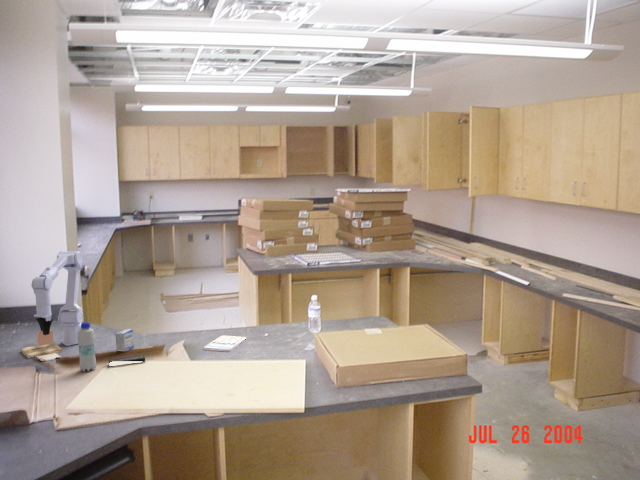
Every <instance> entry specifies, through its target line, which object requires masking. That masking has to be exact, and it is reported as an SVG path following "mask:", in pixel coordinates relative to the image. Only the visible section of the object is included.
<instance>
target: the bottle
mask: <svg viewBox="0 0 640 480" xmlns="http://www.w3.org/2000/svg"><path fill="white" fill-rule="evenodd" d="M81 323H82V324H81V329H80V330H79V331H78V337H77V340H78V343H79V344H78V353H79V369H80V370H81V371H82V370H83V371H82V372H84V371H85V372H90V370H91V371H94V370H95V369H96V367H97V360H96V349H95V340H96V339H95V338H96V335H95V330H94V329H93V328H91V324H90V322H86V321H84V322H81ZM94 368H95V369H94Z"/></svg>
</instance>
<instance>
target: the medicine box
mask: <svg viewBox="0 0 640 480" xmlns="http://www.w3.org/2000/svg"><path fill="white" fill-rule="evenodd" d="M134 342H135V341H134V329H133V328H125V329H122V330H120V331H117V333H115V349H116V352H117V351H118V350H127V349H130V350H132V349H133V348H134V347H135V343H134Z"/></svg>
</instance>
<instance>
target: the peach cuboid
mask: <svg viewBox="0 0 640 480" xmlns="http://www.w3.org/2000/svg"><path fill="white" fill-rule="evenodd" d="M36 341H37V342H36V343H37V345H38V346H42V345H47V344H53V342H54V330H53V329H51V328H50V332H49V334H48V335H44V334H43V331H41V330H39V331H38V330H37V331H36ZM37 345H36V346H37Z"/></svg>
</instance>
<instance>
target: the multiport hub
mask: <svg viewBox="0 0 640 480" xmlns="http://www.w3.org/2000/svg"><path fill="white" fill-rule="evenodd" d="M112 361H145V362H146V357H145V355H144V354H143V355H134V356H126V357H121V358H120V357H119V358H111V359H108V364H109V363H110V362H112Z"/></svg>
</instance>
